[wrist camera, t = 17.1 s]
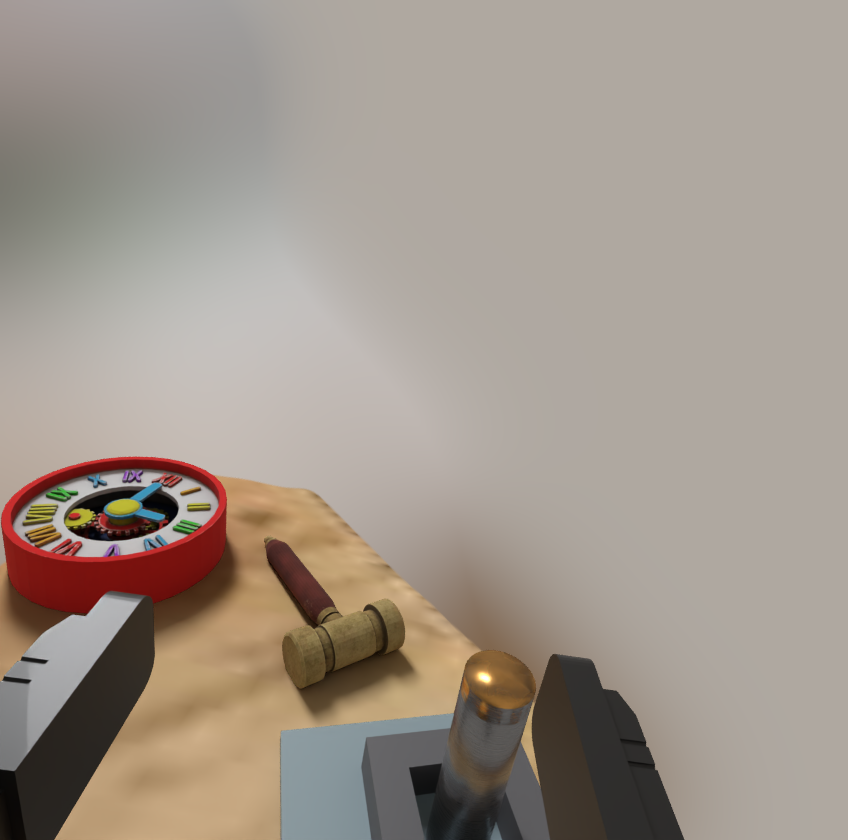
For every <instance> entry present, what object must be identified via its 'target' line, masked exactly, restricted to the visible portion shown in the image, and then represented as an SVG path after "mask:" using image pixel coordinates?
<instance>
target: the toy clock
mask: <svg viewBox="0 0 848 840" xmlns="http://www.w3.org/2000/svg"><path fill="white" fill-rule="evenodd" d="M226 507H227V497H226V492H225V489H224V487H223V485H222V484H221V482H220V481H219V480H218V479H217V478H216V477H215V476H213V475H212V474H210V473H208V472H207V471H206V470H203V469H201V468H198V467H196V466H194V465H191V464H188V463H185V462H180V461H176V460H171V459H164V458H155V457H118V458H109V459H101V460H95V461H90V462H84V463H81V464H77V465H73V466H69V467H66V468H63V469H60V470H57V471H54V472H52V473H49V474H47V475H45V476H42V477H40V478H38V479H36V480H35V481H33V482H32V483H29V484H28V485H26V486H25V487H23V488H22V489H21V490H20V491H18V492H17V493H16V494H15V495H14V496H13V497H12V498H11V499H10V500H9V502H8V503H7V504H6V505H5V508H4V510H3V512H2V517H1V527H2V534H3V540H4V548H5V555H6V562H7V569H8V575H9V578H10V580H11V583H12V585H13V586H14V587H15V589H16V590H17V591H18V592H19V593H20V594H21V595H22V596H24V597H25V598H27V599H28V600H30V601H31V602H34V603H36V604H39V605H41V606H44V607H46V608H50V609H55V610H60V611H64V612H74V613H89V612H90V611H91V610H92V608H93V607H94V606H95V605H96V604H97V602H98V601H99V600H100V599H101V598H102V597H103V596H104V594H106V593H107V592H109V591H117V592H124V593H131V594H138V595H145V596H150V597H151V598H152V600H153V604H154V603H156V602H159V601H162V600H165V599H167V598H170V597H172V596H174V595H176V594H178V593H180V592H183V591H185V590H187V589H188V588H190V587H191V586H193V585H194V584H196V583H197V582H199V581H200V580H202V579H203V578H204V577H205V576H206V575H207V574H208V573H210V572H211V571H212V570H213V568H214V567H215V566H216V565H217V563H218V562H219V561H220V559H221V557H222V554H223V552H224V549H225V542H226Z"/></svg>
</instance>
